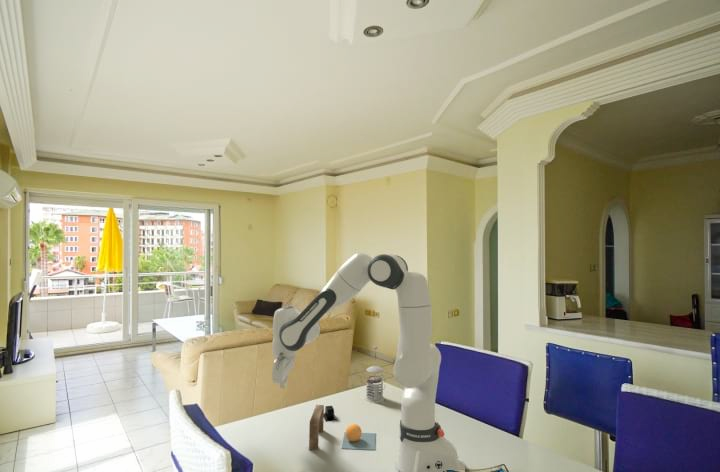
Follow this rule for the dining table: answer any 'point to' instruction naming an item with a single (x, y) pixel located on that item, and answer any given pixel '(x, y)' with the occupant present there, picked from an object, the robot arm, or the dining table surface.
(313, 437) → the bridge
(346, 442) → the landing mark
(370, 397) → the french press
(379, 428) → the dining table surface
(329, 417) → the black stepped block
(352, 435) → the ball
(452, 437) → the dining table surface
